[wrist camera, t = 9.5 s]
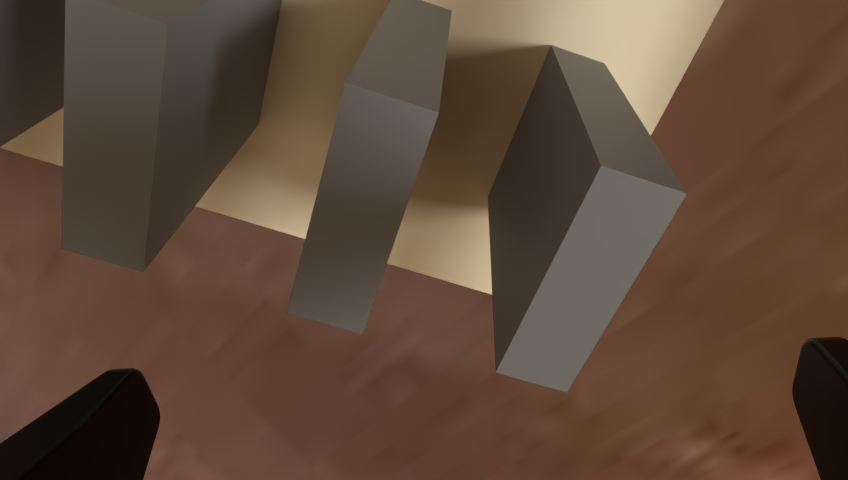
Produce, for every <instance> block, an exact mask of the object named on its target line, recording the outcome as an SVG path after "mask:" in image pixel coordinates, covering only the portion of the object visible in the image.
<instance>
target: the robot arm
mask: <svg viewBox="0 0 848 480" xmlns="http://www.w3.org/2000/svg"><path fill="white" fill-rule="evenodd" d="M792 393H793V400H794V404H795V407H796V410H797V413H798V416H799V419H800V422H801V424H802V427H803V430H804V433H805V436H806V439H807V442H808V444H809V447H810V450H811V453H812V456H813V459H814V462H815V464H816V467H817V470H818V473H819V476H820V479H821V480H848V340H846V339H844V338H841V337H825V338H810V339H808V340H806V341H805V342H804V343H803V345H802V348H801V352H800V356H799V360H798V365H797V369H796V373H795V377H794V382H793V389H792ZM159 423H160V412H159V407H158V405H157V403H156V401H155V399H154V396H153V394H152V392H151V390H150V388H149V386H148V384H147V382H146V380H145V378H144V376H143V374H142V373H141V372H140V371H139V370H138V369H134V368H127V369H112V370H108V371H106V372H105V373H103V374H102V375H100V376H99V377H97V378H96V379H94V380H93V381H91V382H90V383H88V384H87V385H85V386H84V387H83V388H81V389H80V390H78V391H77V392H75V393H74V394H72V395H71V396H69V397H68V398H66V399H65V400H63V401H62V402H61V403H59V404H58V405H56V406H55V407H53V408H52V409H50V410H49V411H47V412H46V413H44V414H43V415H41V416H40V417H39V418H37V419H36V420H34V421H33V422H31V423H30V424H28V425H27V426H25V427H24V428H22V429H21V430H19V431H18V432H17V433H15V434H14V435H12V436H11V437H9V438H8V439H6V440H5V441H3V442H2V443H0V480H143V478H144V475H145V471H146V468H147V465H148V461H149V458H150V454H151V451H152V448H153V444H154V441H155V438H156V434H157V431H158V427H159Z"/></svg>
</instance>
